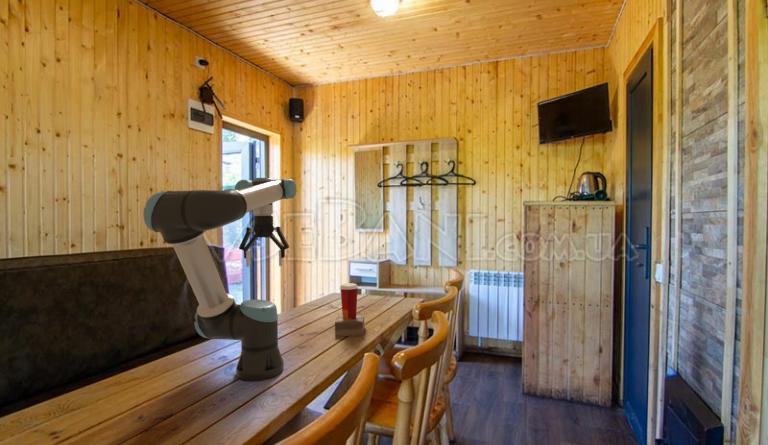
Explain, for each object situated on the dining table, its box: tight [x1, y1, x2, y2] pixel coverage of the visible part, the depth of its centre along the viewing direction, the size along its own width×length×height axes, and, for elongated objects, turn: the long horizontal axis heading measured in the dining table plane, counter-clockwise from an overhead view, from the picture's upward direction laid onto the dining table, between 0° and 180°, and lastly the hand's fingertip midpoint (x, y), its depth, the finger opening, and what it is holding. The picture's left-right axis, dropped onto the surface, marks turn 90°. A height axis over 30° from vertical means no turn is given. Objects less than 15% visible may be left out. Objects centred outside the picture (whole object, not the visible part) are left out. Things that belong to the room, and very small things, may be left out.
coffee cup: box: [339, 282, 359, 320], centre depth 164 cm, size 8×8×15 cm
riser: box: [334, 314, 365, 337], centre depth 164 cm, size 12×12×6 cm
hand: (264, 266), depth 152 cm, fingers open, 13 cm apart
